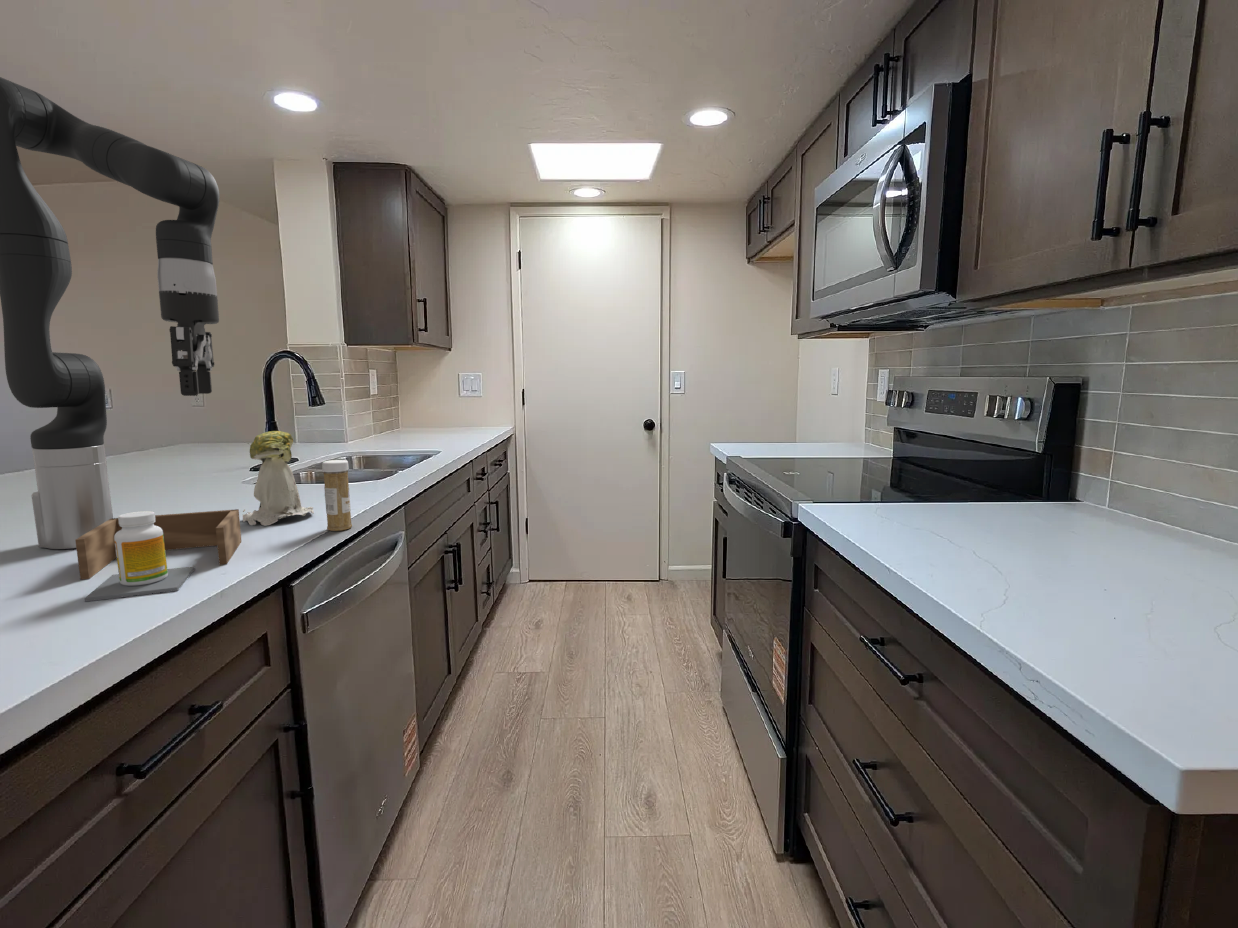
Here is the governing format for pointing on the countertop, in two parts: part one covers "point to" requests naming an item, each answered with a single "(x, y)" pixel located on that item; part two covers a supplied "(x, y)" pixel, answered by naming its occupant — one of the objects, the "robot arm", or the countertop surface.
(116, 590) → the grey mat
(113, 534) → the open box
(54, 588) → the countertop surface
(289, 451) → the yellow capped ghost figurine
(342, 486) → the sprinkles bottle
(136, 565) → the supplement bottle
